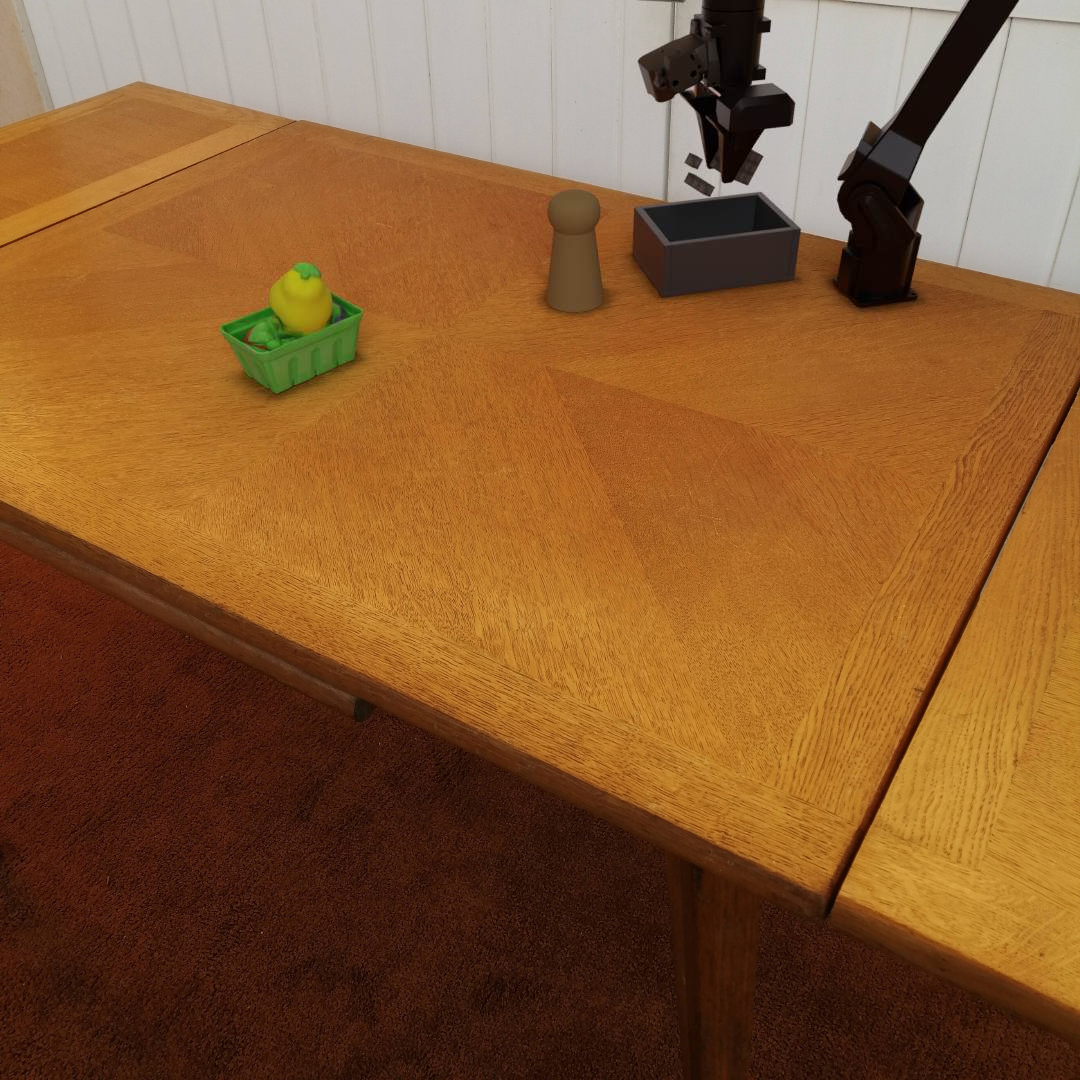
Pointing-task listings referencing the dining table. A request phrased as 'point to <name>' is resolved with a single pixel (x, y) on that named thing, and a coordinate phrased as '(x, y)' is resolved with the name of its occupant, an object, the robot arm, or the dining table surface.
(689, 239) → the bin
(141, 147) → the dining table surface
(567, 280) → the brown pepper mill
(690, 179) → the building blocks
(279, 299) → the fruit basket
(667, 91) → the robot arm
